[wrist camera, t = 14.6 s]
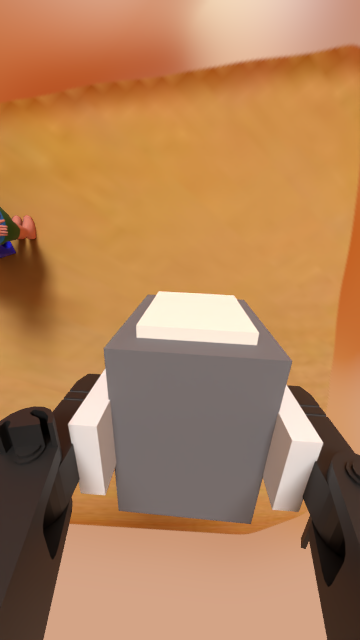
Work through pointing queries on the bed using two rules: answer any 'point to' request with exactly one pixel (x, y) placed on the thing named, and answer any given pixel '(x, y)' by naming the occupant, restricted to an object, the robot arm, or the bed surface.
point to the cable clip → (6, 249)
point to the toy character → (15, 227)
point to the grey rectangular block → (193, 406)
